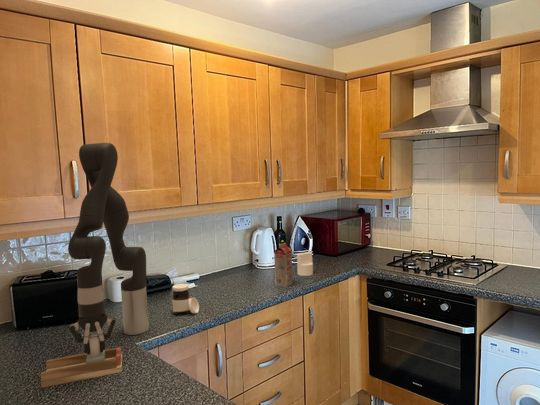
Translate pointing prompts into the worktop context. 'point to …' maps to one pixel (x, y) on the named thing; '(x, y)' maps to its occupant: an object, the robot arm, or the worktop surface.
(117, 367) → the track
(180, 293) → the spread jar
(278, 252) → the juice carton
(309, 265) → the cylinder with rectangular tab
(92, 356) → the slider
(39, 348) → the worktop surface
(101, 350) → the robot arm
